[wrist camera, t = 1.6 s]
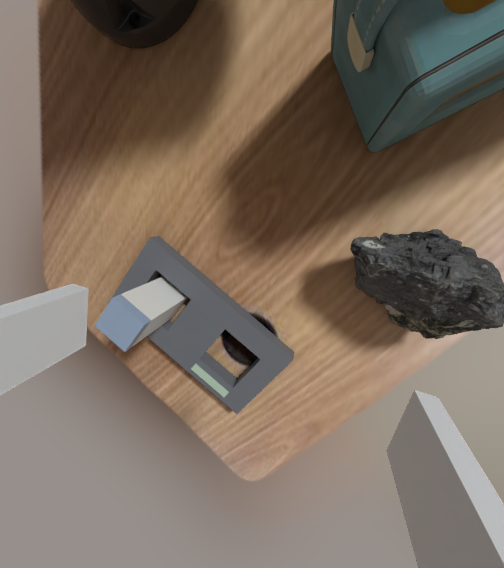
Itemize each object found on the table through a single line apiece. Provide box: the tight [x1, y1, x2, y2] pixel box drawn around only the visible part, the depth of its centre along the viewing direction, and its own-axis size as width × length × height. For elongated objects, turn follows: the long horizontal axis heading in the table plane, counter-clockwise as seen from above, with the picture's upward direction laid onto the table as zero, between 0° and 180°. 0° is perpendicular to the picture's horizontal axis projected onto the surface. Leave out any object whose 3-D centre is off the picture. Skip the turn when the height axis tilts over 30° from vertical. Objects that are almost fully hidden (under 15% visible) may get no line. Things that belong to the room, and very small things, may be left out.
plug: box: [95, 276, 188, 352], centre depth 33 cm, size 4×4×10 cm
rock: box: [350, 229, 504, 339], centre depth 27 cm, size 12×10×10 cm
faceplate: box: [109, 236, 294, 414], centre depth 36 cm, size 22×11×2 cm, turn 51°
